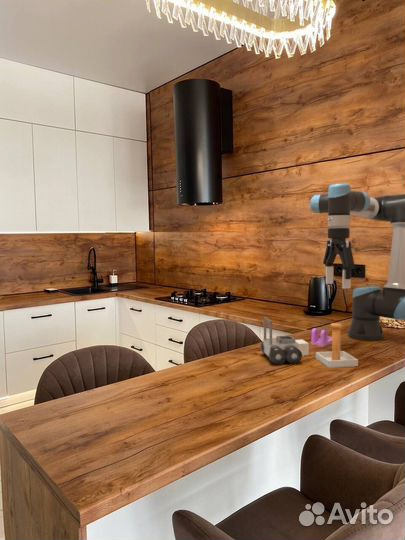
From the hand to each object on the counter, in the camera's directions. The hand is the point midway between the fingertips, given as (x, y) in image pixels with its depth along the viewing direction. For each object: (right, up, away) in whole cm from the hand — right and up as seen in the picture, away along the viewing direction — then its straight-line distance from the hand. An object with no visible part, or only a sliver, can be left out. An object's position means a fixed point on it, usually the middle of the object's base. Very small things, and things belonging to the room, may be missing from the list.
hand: (337, 285), depth 151 cm
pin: (0, -28, +2) cm, 28 cm away
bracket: (+4, -26, +30) cm, 40 cm away
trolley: (-20, -28, +7) cm, 35 cm away
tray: (0, -29, +3) cm, 29 cm away
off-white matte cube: (-11, -28, +14) cm, 33 cm away
